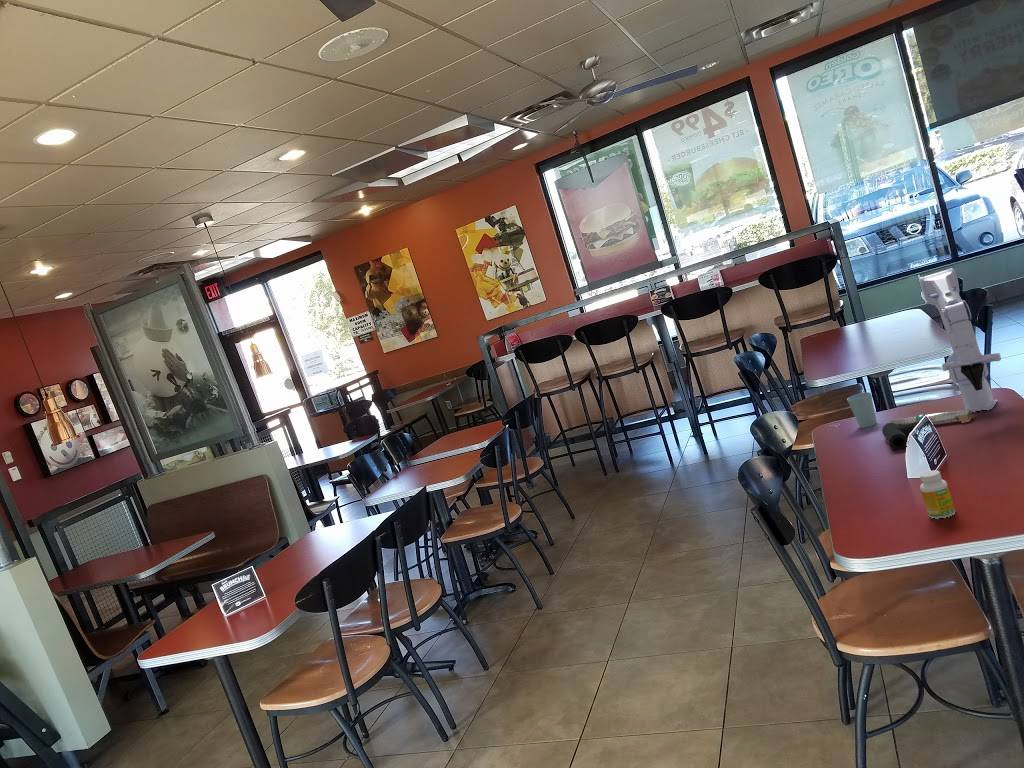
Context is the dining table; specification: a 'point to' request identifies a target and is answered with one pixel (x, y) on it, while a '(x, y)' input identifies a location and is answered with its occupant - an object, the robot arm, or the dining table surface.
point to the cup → (863, 409)
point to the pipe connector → (897, 434)
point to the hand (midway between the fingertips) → (979, 389)
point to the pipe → (937, 417)
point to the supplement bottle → (936, 495)
